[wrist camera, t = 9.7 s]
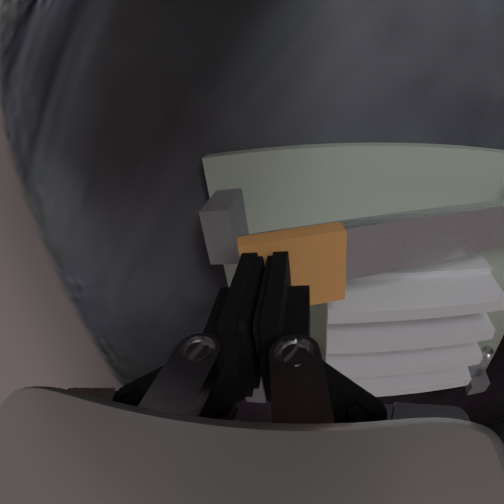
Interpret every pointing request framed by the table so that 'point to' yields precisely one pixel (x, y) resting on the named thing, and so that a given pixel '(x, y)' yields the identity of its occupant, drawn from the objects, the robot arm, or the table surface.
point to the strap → (378, 244)
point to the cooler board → (359, 190)
